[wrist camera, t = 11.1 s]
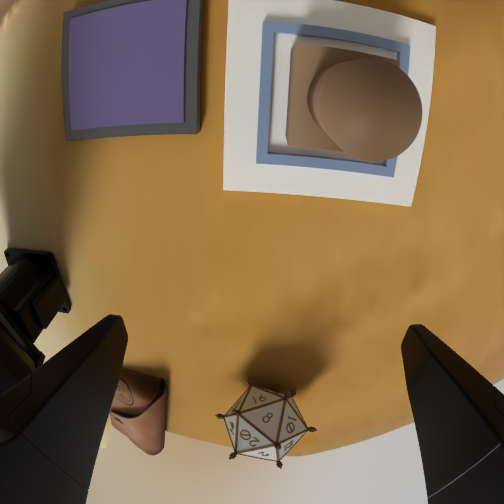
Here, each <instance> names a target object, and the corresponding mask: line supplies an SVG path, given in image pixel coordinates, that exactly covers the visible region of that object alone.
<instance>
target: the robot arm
mask: <svg viewBox="0 0 504 504" xmlns="http://www.w3.org/2000/svg"><path fill="white" fill-rule="evenodd" d="M4 254H5V257H6V260H7V263H8V267H7V268H6V269H5V270H4V271H3V272H2V273H1V274H0V504H86V499H87V494H88V489H89V486H90V481H91V477H92V473H93V469H94V465H95V461H96V457H97V454H98V450H99V446H100V443H101V439H102V436H103V432H104V429H105V425H106V422H107V418H108V415H109V412H110V408H111V405H112V402H113V399H114V396H115V392H116V389H117V386H118V383H119V379H120V374H121V369H122V365H123V360H124V355H125V351H126V346H127V342H128V334H127V331H126V328H125V324H124V321H123V318H122V317H121V316H120V315H112V314H110V315H108V316H106V317H105V318H103V319H102V320H101V321H99V322H98V323H97V324H95V325H94V326H93V327H91V328H90V329H89V330H87V331H86V332H85V333H83V334H82V335H81V336H79V337H78V338H77V339H75V340H74V341H73V342H71V343H70V344H69V345H67V346H66V347H65V348H63V349H62V350H61V351H59V352H58V353H57V354H55V355H54V356H53V357H52V358H50V359H49V360H48V361H46V362H45V363H44V364H43V362H44V359H45V355H44V354H43V353H42V352H41V351H39V350H38V349H37V347H36V346H35V345H34V344H33V343H34V342H35V341H36V339H37V337H38V336H39V334H40V333H41V332H42V330H43V329H46V328H47V327H48V325H49V324H50V322H51V321H52V320H53V318H54V317H55V315H56V314H57V312H63V313H69V312H70V310H71V306H70V304H69V301H68V298H67V295H66V292H65V290H64V287H63V284H62V281H61V278H60V275H59V272H58V268H57V265H56V262H55V259H54V256H53V254H52V253H50V252H44V251H34V250H24V249H14V248H7V249H6V250H5V251H4ZM401 351H402V358H403V364H404V371H405V378H406V385H407V391H408V395H409V400H410V404H411V408H412V413H413V417H414V422H415V426H416V431H417V436H418V441H419V447H420V452H421V458H422V463H423V470H424V476H425V483H426V489H427V496H428V504H504V394H502V393H501V392H500V391H499V390H498V389H497V388H496V387H495V386H493V385H492V384H491V383H490V382H489V381H488V380H487V379H486V378H484V377H483V376H482V375H481V374H480V373H479V372H478V371H476V370H475V369H474V368H473V367H472V366H471V365H470V364H468V363H467V362H466V361H465V360H464V359H463V358H462V357H460V356H459V355H458V354H457V353H456V352H455V351H453V350H452V349H451V348H450V347H449V346H447V345H446V344H445V343H444V342H443V341H441V340H440V339H439V338H438V337H437V336H436V335H434V334H433V333H432V332H431V331H429V330H428V329H427V328H426V327H425V326H423V325H422V324H413V325H410V326H409V328H408V330H407V332H406V334H405V337H404V339H403V341H402V344H401Z"/></svg>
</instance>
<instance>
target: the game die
mask: <svg viewBox="0 0 504 504" xmlns="http://www.w3.org/2000/svg"><path fill="white" fill-rule="evenodd" d="M252 380H253V379H251V378H250V377H248V381H247V382H248V384H249V385H250V387H249V388H248V389H247V390H246V391H245V392H244V394H243V395H242V396H241V397H240V398H239V399H238V400H237V402H236V403H235V404H234V405H233V406H232V407H231V408H230V409H229V411H228V412H227V413H226V414H225V415H222V414H217V415H215V416H217V417H218V419H219V418H220V419H224V421H225V424H226V427H227V430H228V433H229V436H230V439H231V442H232V445H233V448H234V452H233V453H232V454H231V455H230V457H229V459H233V458H235V457H236V455H237V454H240V455H245V456H249V457H254V458H260V459H265V460H271V461H276V462H277V464H276V465H277V466H278V467H279V468H282V462H280V460H281V459H282V458H283V457H284V456H285V455H286V454H287V452H288V451H289V450H290V449H291V448H292V447H293V446H294V445H295V444H296V443H297V442H298V441H299V440H300V438H301V437H302V436H303V435H304V434H305V433H306V432H307V431H310V432H314V431H317V429H315V428H314V427H307V425H306V423H305V421H304V419H303V417H302V415H301V413H300V411H299V409H298V407H297V405H296V403H295V402H294V400H293V398H292V397H293V396H294V395H296V390H295V391H291V393H290V392H289V393H288V392H287V393H285V394H284V393H280V392H276V391H273V390H269V389H266V388H262V387H258V386H255V385H253V381H252Z"/></svg>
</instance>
